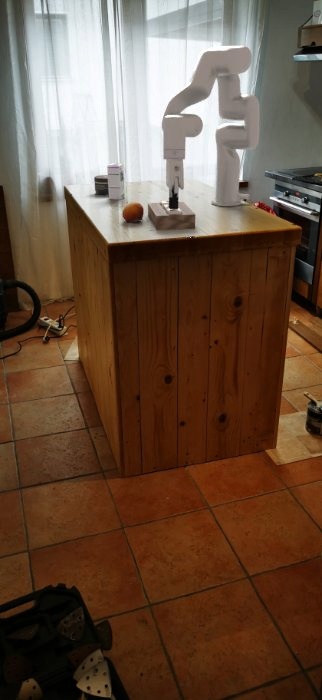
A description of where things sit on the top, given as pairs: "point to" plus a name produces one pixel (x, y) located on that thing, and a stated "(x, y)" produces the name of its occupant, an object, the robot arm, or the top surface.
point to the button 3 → (173, 211)
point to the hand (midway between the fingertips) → (173, 208)
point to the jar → (101, 184)
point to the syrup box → (115, 181)
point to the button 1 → (164, 203)
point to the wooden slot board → (171, 217)
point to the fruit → (133, 212)
